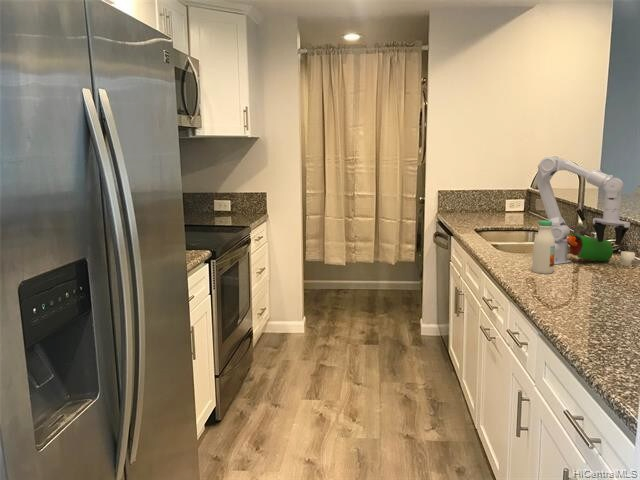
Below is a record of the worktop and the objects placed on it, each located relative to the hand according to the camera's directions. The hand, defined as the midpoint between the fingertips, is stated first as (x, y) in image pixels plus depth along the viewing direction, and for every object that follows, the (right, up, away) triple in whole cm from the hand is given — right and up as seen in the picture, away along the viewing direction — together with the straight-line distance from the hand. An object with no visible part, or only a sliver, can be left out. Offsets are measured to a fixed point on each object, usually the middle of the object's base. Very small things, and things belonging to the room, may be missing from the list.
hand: (609, 243), depth 213 cm
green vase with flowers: (+5, -3, +14) cm, 15 cm away
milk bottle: (-28, -11, -4) cm, 31 cm away
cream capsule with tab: (+11, -9, +7) cm, 15 cm away
